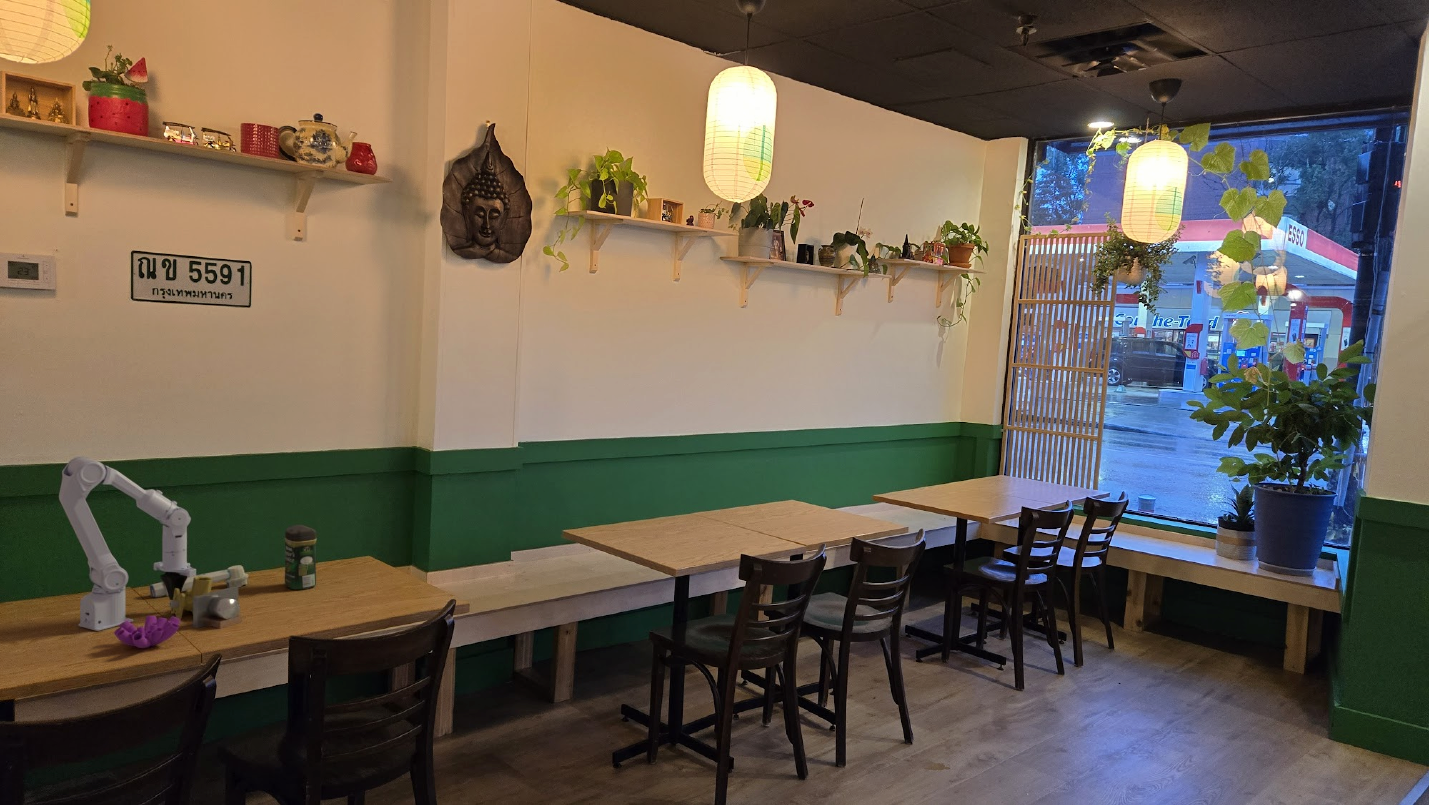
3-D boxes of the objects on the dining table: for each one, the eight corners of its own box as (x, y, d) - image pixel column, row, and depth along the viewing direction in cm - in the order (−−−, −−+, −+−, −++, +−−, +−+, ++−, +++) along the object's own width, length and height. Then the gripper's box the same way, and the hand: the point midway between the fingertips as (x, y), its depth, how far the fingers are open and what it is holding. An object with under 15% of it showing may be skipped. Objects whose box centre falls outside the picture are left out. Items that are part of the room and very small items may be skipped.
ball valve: (201, 608, 258) (160, 610, 251) (207, 572, 258) (167, 572, 251) (217, 623, 249) (175, 625, 242) (223, 585, 249) (182, 586, 242)
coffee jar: (280, 585, 282) (281, 525, 280) (307, 581, 287) (307, 522, 286) (292, 592, 275) (293, 530, 273) (319, 587, 280) (320, 527, 279)
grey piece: (148, 582, 266) (243, 559, 282) (151, 604, 267) (246, 580, 283) (152, 586, 262) (248, 563, 278) (155, 609, 263) (251, 584, 279)
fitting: (210, 631, 238) (210, 601, 237) (193, 627, 240) (193, 597, 240) (251, 619, 249) (251, 590, 248) (233, 615, 251) (234, 586, 251)
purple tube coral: (112, 665, 221) (100, 628, 224) (177, 648, 234) (165, 614, 236) (131, 645, 216) (118, 608, 218) (196, 629, 228) (183, 595, 231)
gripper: (206, 550, 252) (206, 599, 253) (170, 543, 258) (170, 591, 259) (182, 556, 245) (182, 606, 246) (146, 548, 251) (146, 597, 252)
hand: (174, 599), depth 252 cm, fingers closed
